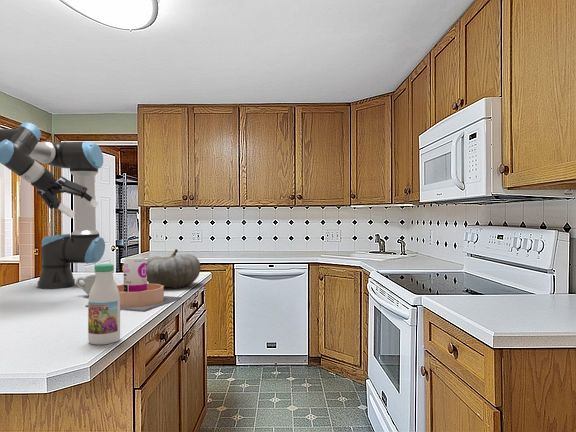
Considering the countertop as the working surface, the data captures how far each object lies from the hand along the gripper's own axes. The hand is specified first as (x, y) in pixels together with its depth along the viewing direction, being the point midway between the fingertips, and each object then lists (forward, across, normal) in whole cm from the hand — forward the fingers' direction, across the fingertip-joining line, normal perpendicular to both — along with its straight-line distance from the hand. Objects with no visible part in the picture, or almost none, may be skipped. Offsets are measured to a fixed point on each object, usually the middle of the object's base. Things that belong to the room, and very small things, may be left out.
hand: (84, 210), depth 176 cm
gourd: (+52, 0, -6) cm, 52 cm away
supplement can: (+26, +14, -28) cm, 40 cm away
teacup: (+25, -11, -22) cm, 35 cm away
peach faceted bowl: (+26, +13, -29) cm, 42 cm away
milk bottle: (0, +42, -61) cm, 74 cm away
